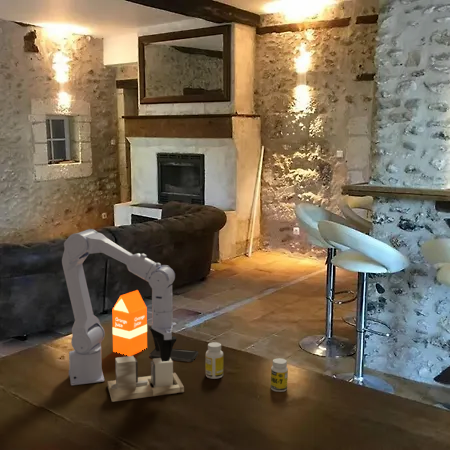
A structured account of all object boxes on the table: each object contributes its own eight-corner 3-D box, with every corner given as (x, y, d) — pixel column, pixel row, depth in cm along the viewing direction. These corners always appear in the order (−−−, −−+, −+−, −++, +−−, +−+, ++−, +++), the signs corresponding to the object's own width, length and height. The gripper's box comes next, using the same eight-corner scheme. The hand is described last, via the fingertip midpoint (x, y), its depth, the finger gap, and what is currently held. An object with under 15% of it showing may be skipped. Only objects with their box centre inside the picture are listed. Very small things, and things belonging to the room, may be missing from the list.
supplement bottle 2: (267, 390, 155) (268, 361, 154) (274, 383, 159) (275, 356, 158) (283, 393, 153) (284, 365, 152) (289, 387, 157) (290, 359, 156)
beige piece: (112, 401, 147) (111, 368, 146) (107, 386, 156) (106, 354, 155) (183, 391, 153) (183, 359, 152) (175, 377, 163) (175, 347, 161)
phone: (156, 347, 185) (198, 350, 182) (156, 350, 185) (198, 354, 182) (148, 355, 177) (192, 359, 174) (148, 358, 178) (192, 363, 174)
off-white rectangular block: (153, 391, 154) (153, 364, 152) (150, 385, 157) (150, 358, 156) (172, 388, 155) (172, 362, 154) (169, 382, 159) (169, 356, 158)
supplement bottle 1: (224, 372, 167) (224, 341, 165) (222, 379, 162) (222, 348, 160) (206, 371, 167) (206, 340, 166) (204, 378, 162) (204, 347, 161)
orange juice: (147, 348, 186) (147, 291, 183) (130, 356, 178) (129, 297, 175) (130, 343, 190) (129, 287, 187) (112, 351, 182) (111, 293, 179)
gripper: (182, 316, 148) (182, 363, 150) (170, 301, 161) (170, 345, 163) (156, 318, 145) (157, 366, 147) (146, 303, 159) (147, 347, 161)
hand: (162, 355), depth 155 cm, fingers open, 7 cm apart
